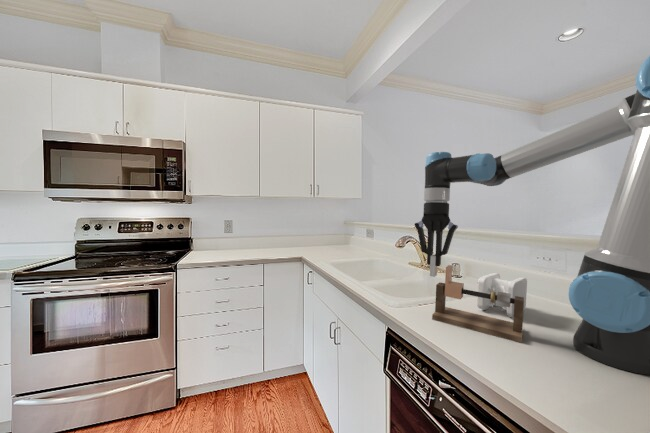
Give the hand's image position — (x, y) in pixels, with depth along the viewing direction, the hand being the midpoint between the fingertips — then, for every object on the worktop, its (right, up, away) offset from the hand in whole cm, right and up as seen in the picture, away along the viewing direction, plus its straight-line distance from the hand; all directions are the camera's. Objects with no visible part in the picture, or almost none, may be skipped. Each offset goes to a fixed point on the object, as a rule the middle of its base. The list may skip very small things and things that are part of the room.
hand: (433, 275), depth 86 cm
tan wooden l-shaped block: (+5, -6, -4) cm, 8 cm away
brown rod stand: (+10, -13, -7) cm, 18 cm away
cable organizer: (+25, -13, +5) cm, 29 cm away
